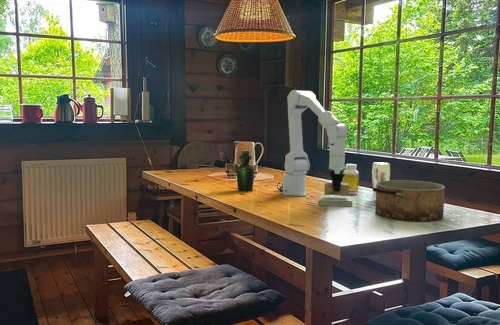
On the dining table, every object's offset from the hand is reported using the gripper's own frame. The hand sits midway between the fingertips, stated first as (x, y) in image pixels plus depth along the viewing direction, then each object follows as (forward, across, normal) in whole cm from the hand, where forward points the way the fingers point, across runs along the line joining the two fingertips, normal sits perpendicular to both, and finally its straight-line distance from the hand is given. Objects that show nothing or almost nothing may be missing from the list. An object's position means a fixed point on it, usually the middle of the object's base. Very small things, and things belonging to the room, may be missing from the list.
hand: (336, 190), depth 184 cm
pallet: (+2, 0, 0) cm, 2 cm away
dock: (+5, 0, 0) cm, 5 cm away
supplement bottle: (+5, +24, -7) cm, 26 cm away
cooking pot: (+6, -16, -24) cm, 30 cm away
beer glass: (+5, +11, -18) cm, 22 cm away
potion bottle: (+5, +22, +39) cm, 45 cm away
